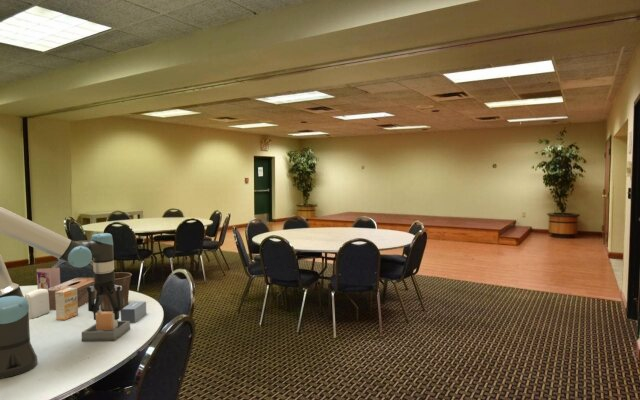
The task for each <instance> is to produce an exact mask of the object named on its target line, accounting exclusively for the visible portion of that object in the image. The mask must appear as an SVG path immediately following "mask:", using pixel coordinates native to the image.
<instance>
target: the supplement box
mask: <svg viewBox="0 0 640 400" xmlns="http://www.w3.org/2000/svg"><path fill="white" fill-rule="evenodd" d="M55 299H56V310H55V319H56V320H57V321H66V320H69V319H71V318H73V317H75V316H78V315H79V307H78V298H77V288H67V289H63V290H60V291H57V292H55Z"/></svg>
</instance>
